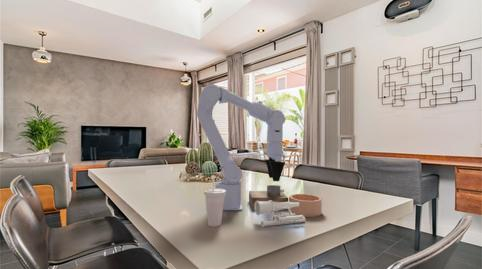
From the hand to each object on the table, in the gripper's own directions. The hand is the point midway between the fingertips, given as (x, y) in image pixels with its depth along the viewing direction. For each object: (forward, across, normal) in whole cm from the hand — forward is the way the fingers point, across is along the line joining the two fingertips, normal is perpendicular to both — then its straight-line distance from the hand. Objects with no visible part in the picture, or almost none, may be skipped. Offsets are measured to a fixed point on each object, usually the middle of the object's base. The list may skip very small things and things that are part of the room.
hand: (273, 179), depth 91 cm
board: (+10, +2, +2) cm, 10 cm away
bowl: (+10, -8, -10) cm, 16 cm away
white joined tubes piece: (+10, -17, +1) cm, 20 cm away
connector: (+6, 0, 0) cm, 6 cm away
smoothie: (+10, -19, +21) cm, 30 cm away
